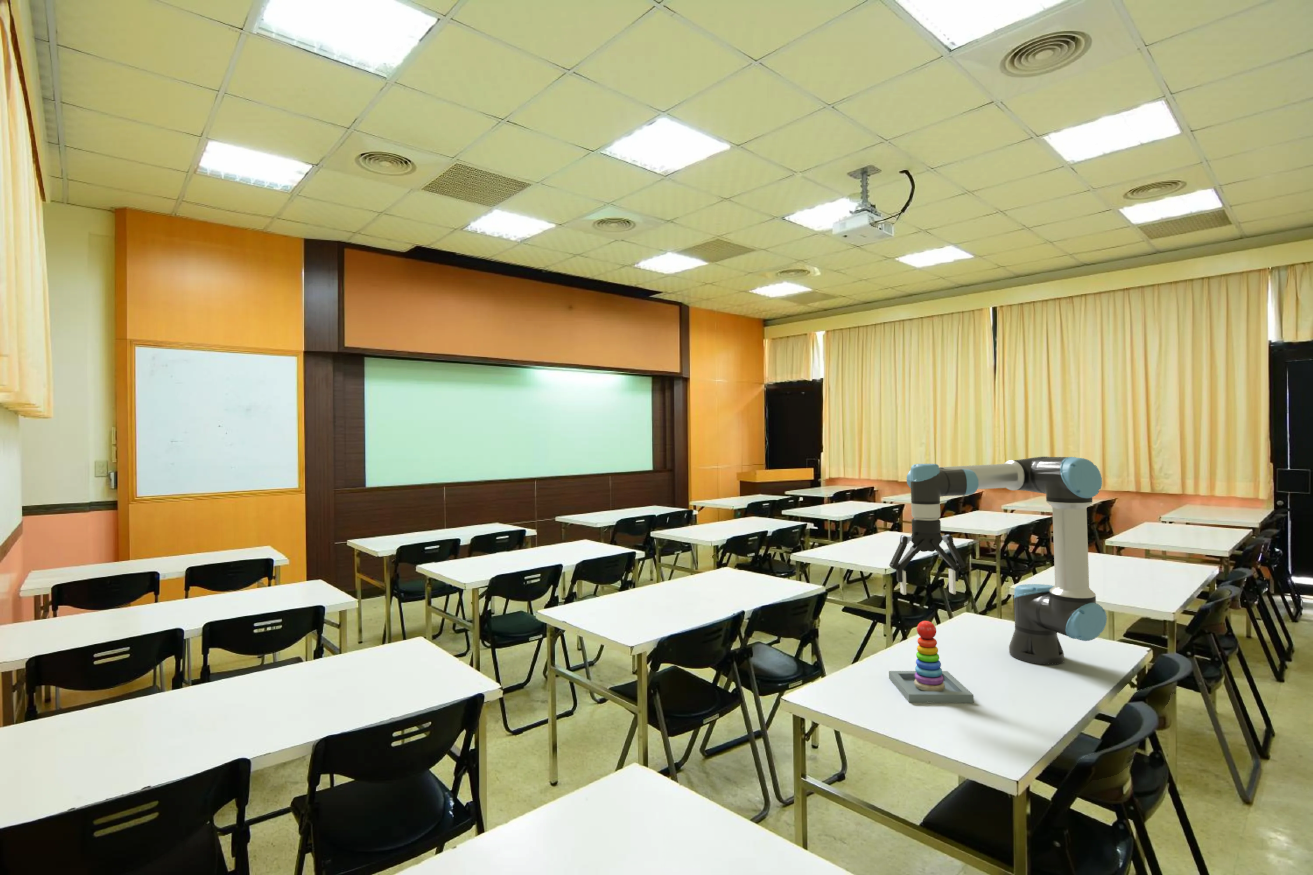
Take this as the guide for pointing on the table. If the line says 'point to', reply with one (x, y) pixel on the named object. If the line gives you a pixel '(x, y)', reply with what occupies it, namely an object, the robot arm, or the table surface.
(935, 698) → the gray square tray
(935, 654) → the stacking toy
